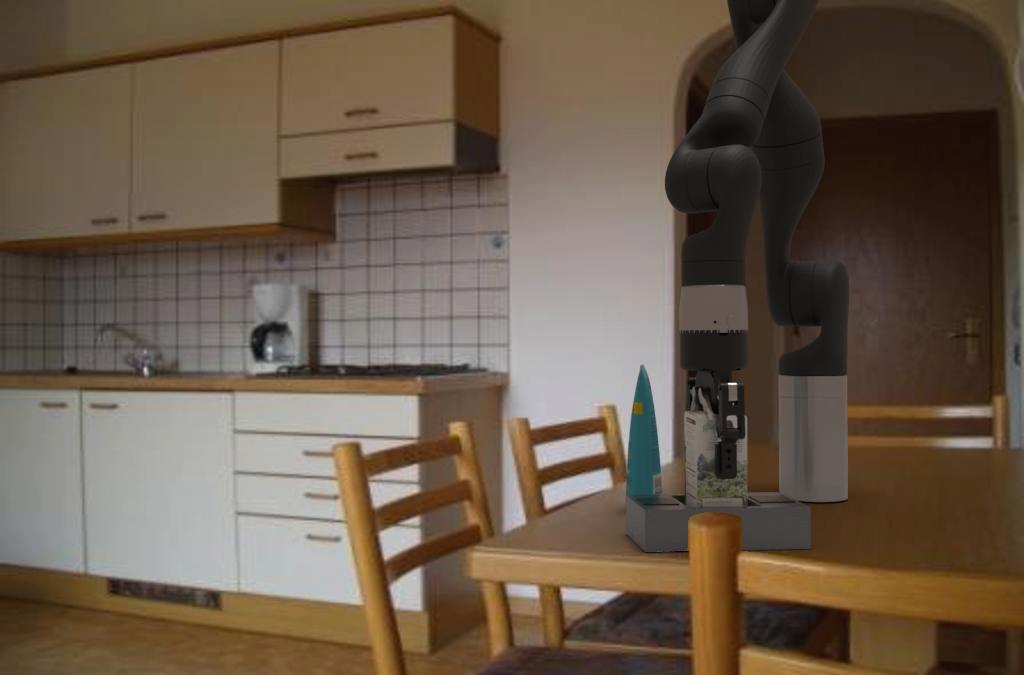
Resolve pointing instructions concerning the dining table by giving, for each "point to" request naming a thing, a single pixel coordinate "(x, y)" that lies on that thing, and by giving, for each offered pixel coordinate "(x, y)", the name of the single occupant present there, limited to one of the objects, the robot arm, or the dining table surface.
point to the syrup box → (710, 467)
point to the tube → (643, 442)
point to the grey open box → (764, 518)
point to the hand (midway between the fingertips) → (714, 472)
